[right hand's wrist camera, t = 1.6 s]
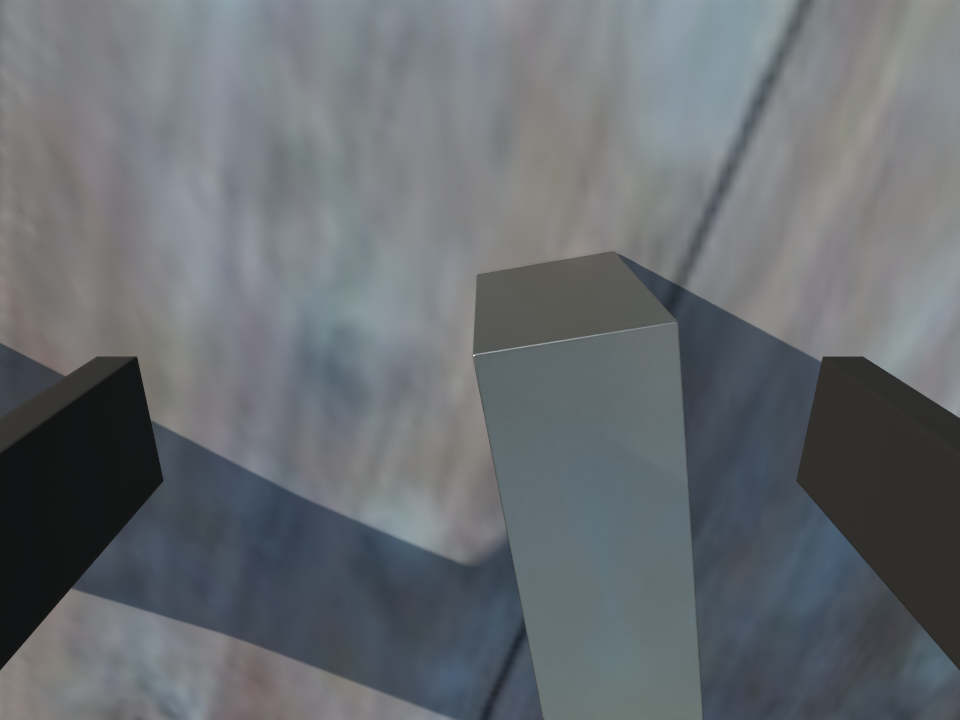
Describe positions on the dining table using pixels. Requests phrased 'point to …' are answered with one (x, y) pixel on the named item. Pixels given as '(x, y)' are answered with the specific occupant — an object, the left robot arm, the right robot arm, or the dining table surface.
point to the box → (593, 485)
